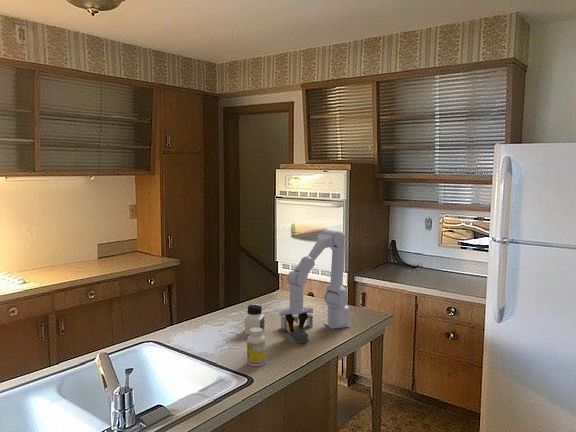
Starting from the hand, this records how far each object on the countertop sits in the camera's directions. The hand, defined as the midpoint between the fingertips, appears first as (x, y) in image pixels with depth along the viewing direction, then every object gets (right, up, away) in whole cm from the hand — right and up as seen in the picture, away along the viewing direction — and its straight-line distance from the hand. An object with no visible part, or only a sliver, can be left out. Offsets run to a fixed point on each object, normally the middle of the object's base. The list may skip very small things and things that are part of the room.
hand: (296, 331), depth 203 cm
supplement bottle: (-15, -6, -26) cm, 30 cm away
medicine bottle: (-18, -2, +6) cm, 19 cm away
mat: (0, -3, 0) cm, 3 cm away
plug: (0, -2, 0) cm, 2 cm away
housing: (+1, -2, +12) cm, 12 cm away
